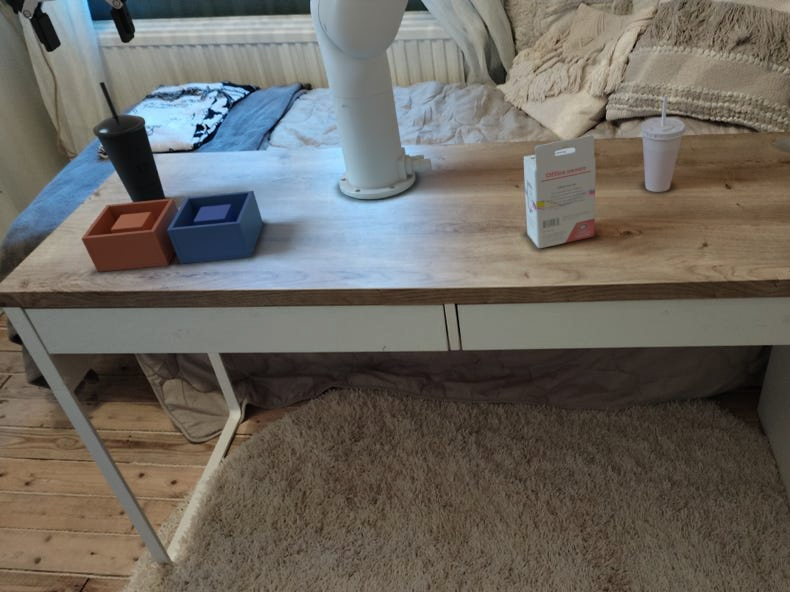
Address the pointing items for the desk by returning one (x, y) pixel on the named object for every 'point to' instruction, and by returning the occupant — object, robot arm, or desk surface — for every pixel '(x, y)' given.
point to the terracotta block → (134, 223)
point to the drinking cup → (130, 153)
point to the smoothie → (661, 149)
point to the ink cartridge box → (560, 191)
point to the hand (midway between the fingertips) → (91, 44)
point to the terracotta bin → (131, 237)
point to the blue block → (215, 215)
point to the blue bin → (216, 229)
